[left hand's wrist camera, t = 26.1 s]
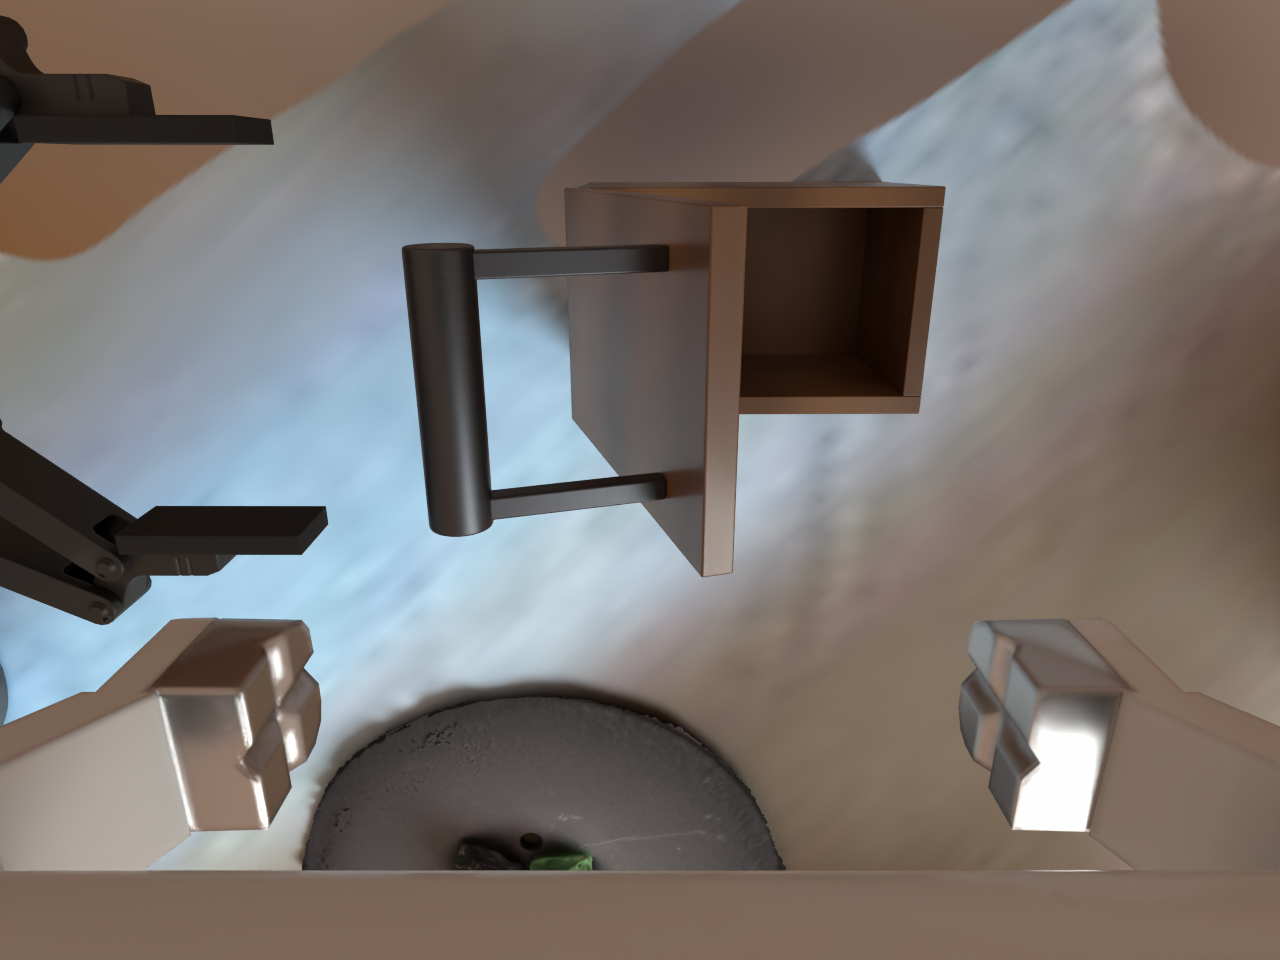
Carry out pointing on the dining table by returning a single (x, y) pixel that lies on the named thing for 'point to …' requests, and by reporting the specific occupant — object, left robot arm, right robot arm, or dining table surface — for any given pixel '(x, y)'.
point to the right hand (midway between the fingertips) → (288, 346)
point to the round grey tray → (538, 796)
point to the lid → (600, 366)
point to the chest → (830, 291)
